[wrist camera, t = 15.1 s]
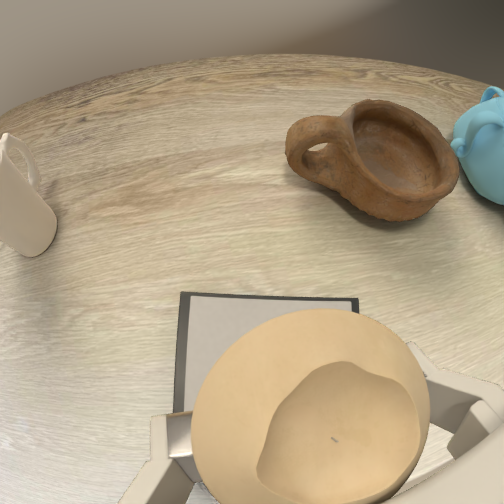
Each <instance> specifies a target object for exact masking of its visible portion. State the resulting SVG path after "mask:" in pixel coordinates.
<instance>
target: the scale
mask: <svg viewBox="0 0 504 504" xmlns="http://www.w3.org/2000/svg"><path fill="white" fill-rule="evenodd" d="M316 308H329V309H340V310H346V311H351V312H355V313H358V314H359V300H358V298H323V297H284V296H257V295H234V294H215V293H198V292H181V294H180V305H179V317H178V330H177V344H176V360H175V378H174V402H173V413H179V412H185V411H192V410H193V409H194V405H195V402H196V399H197V396H198V393H199V390H200V388H201V386H202V384H203V382H204V380H205V378H206V376H207V374H208V373H209V371H210V370H211V368H212V367H213V366H214V364H215V363H216V361H217V360H218V359H219V358H220V357H221V356H222V354H223V353H224V352H225V351H226V350H227V349H228V348H229V347H230V346H231V345H232V344H233V343H235V342H236V341H237V340H238V339H239V338H240V337H242V336H243V335H244V334H246V333H247V332H249V331H250V330H252V329H253V328H255V327H257V326H259V325H261V324H263V323H264V322H266V321H268V320H270V319H273V318H276V317H279V316H281V315H284V314H287V313H291V312H296V311H300V310H306V309H316Z"/></svg>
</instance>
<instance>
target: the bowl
mask: <svg viewBox="0 0 504 504" xmlns="http://www.w3.org/2000/svg"><path fill="white" fill-rule="evenodd" d="M321 143H328V144H327V146H326V147H325V148H323V149H321V150H318V151H309V150H308V149H309V148H311V147H313V146H315V145H317V144H321ZM285 146H286V149H285V154H286V156H287V161H288V164H289V165H290V167H291V168H292V170H293V171H294V172H295V173H297V174H298V175H300V176H301V177H303V178H305V179H307V180H309V181H312V182H315V183H318V184H321V185H323V186H325V187H327V188H329V189H331V190H333V191H337V192H339V193H340V195H341V196H342V197H343V198H345V199H348V200H349V201H350V202H351V204H352V205H354V206H356V207H358V208H359V210H363V211H365V212H366V213H367V214H368V215H374V216H375V217H376V218H378V219H381V218H383V219H385V220H387V221H391V222H392V221H398V222H401V221H404V220H408V221H409V220H412V219H413V218H418V217H420V216H421V215H423V214H425V213H427V212H428V211H429V210H430V209H431V208H432V207H433V206H434V205H435V204H436V203H437V202H438V201H439V200H440V199H442V198H444V197H445V196H447V195H448V194H449V193H451V192H452V190H453V189H454V187H455V185H456V183H457V181H458V178H459V172H460V168H459V163H458V159H457V157H456V155H455V153H454V151H453V149H452V148H451V146H450V145H449V144H448V142H447V141H446V140H445V138H444V137H443V136H442V134H441V132H440V131H439V130H438V128H437V127H435V126H434V125H433V124H432V123H430V122H429V121H428V120H426V119H425V118H423V117H422V116H421V115H419V114H418V113H416V112H414V111H412V110H410V109H409V108H406V107H403V106H401V105H398V104H395V103H392V102H390V101H384V100H370V99H367V100H363V101H361V102H358V103H355V104H353V105H352V106H351V107H349V108H348V109H347V110H346V111H345V112H344V113H343V114H342V115H341V116H310V117H306V118H303V119H301V120H299V121H297V122H296V123H294V124H293V125H292V126H291V127H290V128H289V130H288V132H287V137H286V143H285Z"/></svg>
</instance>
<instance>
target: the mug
mask: <svg viewBox="0 0 504 504" xmlns="http://www.w3.org/2000/svg"><path fill="white" fill-rule="evenodd" d="M11 149H16V150H18V151H19V152H20V153H21V154H22V155H23V157H24V159H25V161H26V164H27V168H28V181H27V180H26V179H25V177H24V176H23V175H22V174H21V172H20V171H19V170H18V169H17V167H16V166H15V165H14V163H13V162H12V161H11V160H10V158H9V157H8V154H9V152H10V150H11ZM40 182H41V175H40V173H39V170H38V167H37V164H36V162H35V159H34V156H33V154H32V152H31V150H30V149H29V147H28V146H27V145H26V144H25V143H24V142H23V141H22V140H20V139H18V138H16V137H14V136H11V135H10V134H9V133H4V134H3V136H2V138H1V140H0V241H2V242H3V243H4V244H6V245H7V246H9V247H10V248H12V249H14V250H15V251H17V252H19V253H20V254H22V255H24V256H26V257H35V256H37V255H39V254H41V253H42V252H44V251H45V250H46V249H47V248H48V247H49V245H50V244H51V242H52V241H53V239H54V236H55V233H56V229H57V219H56V216H55V214H54V212H53V211H52V209H51V208H50V207H49V206H48V205H47V203H46V202H45V201H44V200H43V199H42V198H41V196H40V195H39V194H38V193H37V192H38V187H39V184H40Z"/></svg>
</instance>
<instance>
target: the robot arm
mask: <svg viewBox="0 0 504 504" xmlns="http://www.w3.org/2000/svg"><path fill="white" fill-rule="evenodd" d="M405 344H406V345H407V346H408V347H409V349H410V350H411V352H412V353H413V354H414V356H415V357H416V359H417V361H418V363H419V365H420V367H421V369H422V371H423V374H424V377H425V380H426V383H427V387H428V392H429V398H430V423H432V424H434V425H436V426H439V427H441V428H443V429H445V430H447V431H449V432H451V433H453V434H454V435H453V437H452V438H451V440H450V441H449V443H448V445H447V449H448V450H449V452H450V453H451V455H452V456H453V457H454V459H455V461H453V462H452V463H451V464H449V465H448V466H446V467H445V468H443V469H441V470H440V471H438V472H437V473H435V474H434V475H432V476H430V477H429V478H427V479H425V480H424V481H422V482H420V483H419V484H417V485H415V486H413V487H411V488H410V489H408V490H406V491H404V492H403V493H401V494H399V495H397V496H395V497H393V498H391V499H389V500H387V501H385V502H383V503H380V504H504V390H503V389H502V388H501V387H500V386H499V385H498V384H495V383H491V382H488V381H484V380H481V379H477V378H474V377H471V376H467V375H464V374H461V373H458V372H454V371H451V370H448V369H445V368H442V369H439V368H438V367H437V366H436V365H435V364H434V363H433V362H432V361H431V360H430V359H429V358H428V357H427V356H426V354H425V353H424V352H423V351H422V350H421V349H420V348H419V347H418V346H417V345H416V344H415V343H414V342H411V341H410V342H408V343H405ZM192 415H193V410H192V411H185V412H179V413H171V414H164V415H157V416H152V417H151V420H150V461H146V462H145V464H144V465H143V467H142V468H141V470H140V471H139V473H138V474H137V475H136V477H135V478H134V480H133V481H132V483H131V484H130V486H129V487H128V489H127V490H126V492H125V493H124V494H123V496H122V497H121V499H120V500H119V502H118V503H117V504H185V503H186V501H187V499H188V497H189V494H190V492H191V490H192V488H193V486H194V483H196V482H202V478H201V476H200V474H199V472H198V470H197V467H196V464H195V460H194V457H193V453H192V445H191V420H192Z"/></svg>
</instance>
